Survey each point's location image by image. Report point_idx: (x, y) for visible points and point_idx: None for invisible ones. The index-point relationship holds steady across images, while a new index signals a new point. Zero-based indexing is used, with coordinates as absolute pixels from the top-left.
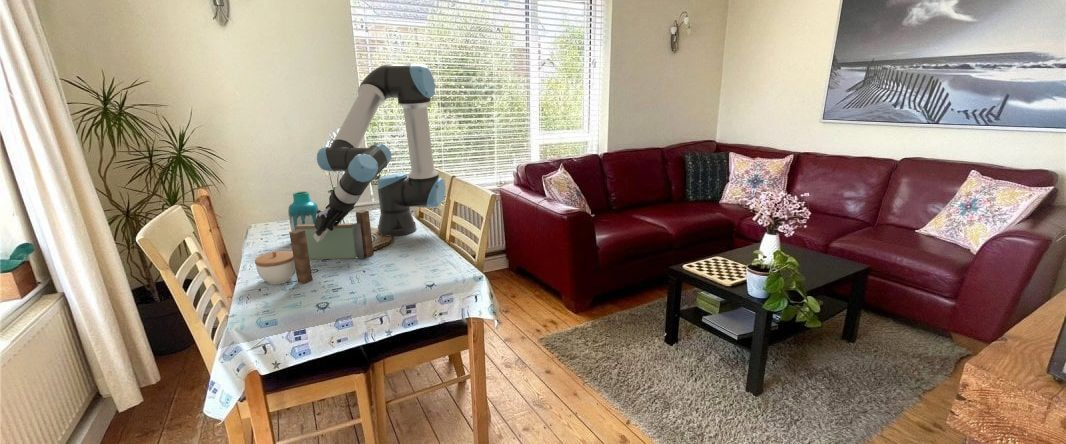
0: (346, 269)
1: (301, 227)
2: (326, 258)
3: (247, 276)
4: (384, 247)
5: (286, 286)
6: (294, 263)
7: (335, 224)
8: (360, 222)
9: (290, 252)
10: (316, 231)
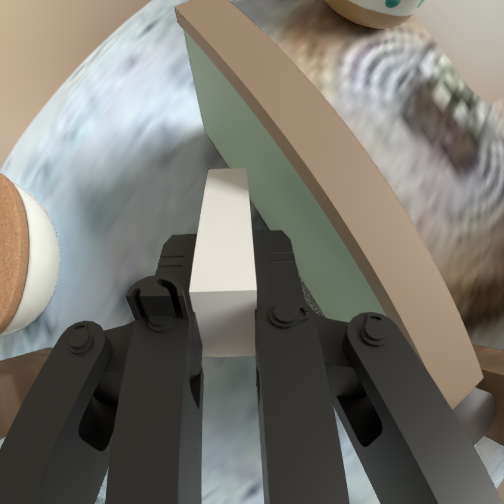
0: (230, 423)
1: (197, 37)
2: (270, 229)
3: (29, 130)
4: (481, 327)
5: (17, 339)
6: (19, 326)
7: (336, 404)
8: (500, 417)
9: (7, 268)
10: (160, 264)
